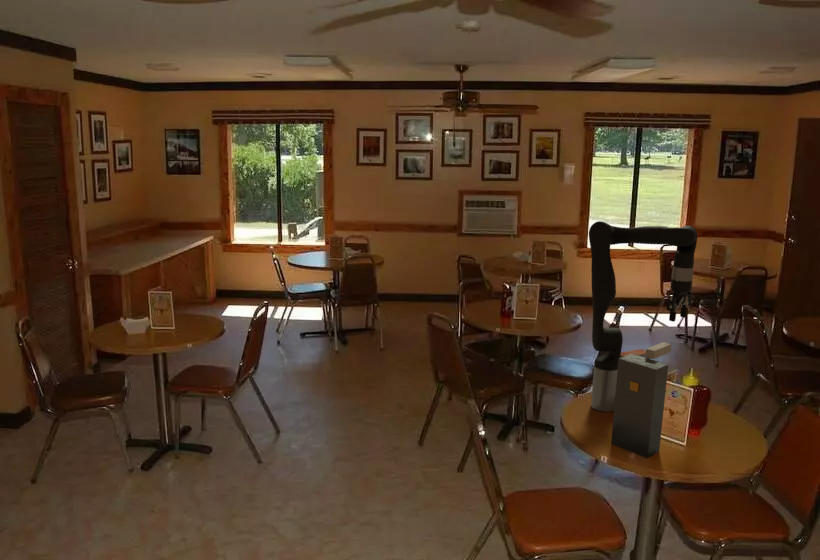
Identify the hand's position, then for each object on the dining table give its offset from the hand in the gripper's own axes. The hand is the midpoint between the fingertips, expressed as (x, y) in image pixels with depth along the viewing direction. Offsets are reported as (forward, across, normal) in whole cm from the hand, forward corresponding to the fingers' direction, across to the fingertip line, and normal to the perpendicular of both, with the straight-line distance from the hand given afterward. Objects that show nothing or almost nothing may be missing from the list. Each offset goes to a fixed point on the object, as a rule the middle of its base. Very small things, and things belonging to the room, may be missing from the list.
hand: (677, 319), depth 257 cm
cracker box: (+38, +3, -15) cm, 41 cm away
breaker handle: (+6, +30, +9) cm, 31 cm away
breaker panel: (+38, +40, +9) cm, 56 cm away
